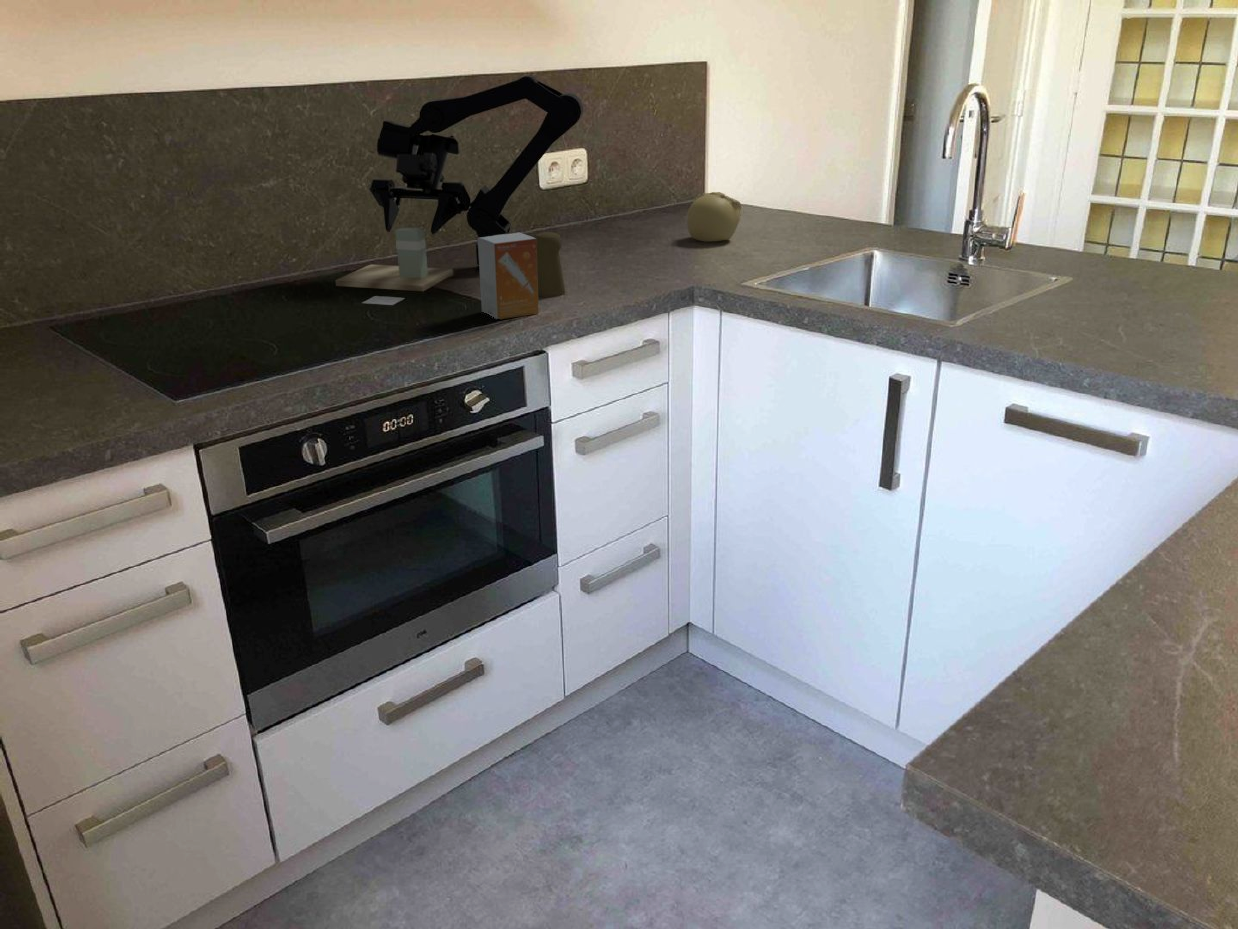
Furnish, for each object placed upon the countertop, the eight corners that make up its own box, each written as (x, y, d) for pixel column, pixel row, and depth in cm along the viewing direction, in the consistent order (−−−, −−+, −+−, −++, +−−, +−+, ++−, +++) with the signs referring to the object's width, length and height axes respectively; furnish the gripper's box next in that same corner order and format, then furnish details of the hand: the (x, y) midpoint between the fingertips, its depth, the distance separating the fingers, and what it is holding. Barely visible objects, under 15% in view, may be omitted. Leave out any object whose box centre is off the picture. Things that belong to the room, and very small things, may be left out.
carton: (428, 274, 191) (424, 227, 188) (421, 278, 189) (417, 230, 185) (406, 273, 192) (402, 226, 189) (399, 277, 190) (394, 229, 186)
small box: (497, 321, 166) (493, 243, 161) (481, 312, 171) (476, 236, 165) (540, 313, 170) (537, 237, 165) (522, 305, 175) (519, 231, 169)
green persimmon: (746, 238, 228) (748, 190, 224) (722, 247, 219) (724, 197, 215) (702, 233, 234) (703, 186, 230) (677, 242, 225) (678, 193, 221)
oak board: (453, 275, 196) (452, 269, 196) (423, 292, 184) (422, 285, 184) (371, 270, 201) (370, 264, 200) (336, 286, 188) (335, 280, 188)
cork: (570, 290, 185) (568, 230, 180) (558, 298, 180) (556, 237, 175) (540, 287, 187) (538, 228, 182) (527, 295, 181) (524, 235, 177)
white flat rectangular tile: (405, 298, 179) (405, 297, 179) (392, 305, 175) (392, 304, 175) (375, 297, 181) (374, 295, 181) (361, 303, 176) (361, 302, 176)
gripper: (368, 134, 187) (346, 203, 182) (461, 137, 183) (441, 208, 177) (391, 172, 197) (370, 238, 192) (478, 175, 193) (460, 243, 188)
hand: (409, 231), depth 187 cm, fingers open, 9 cm apart
